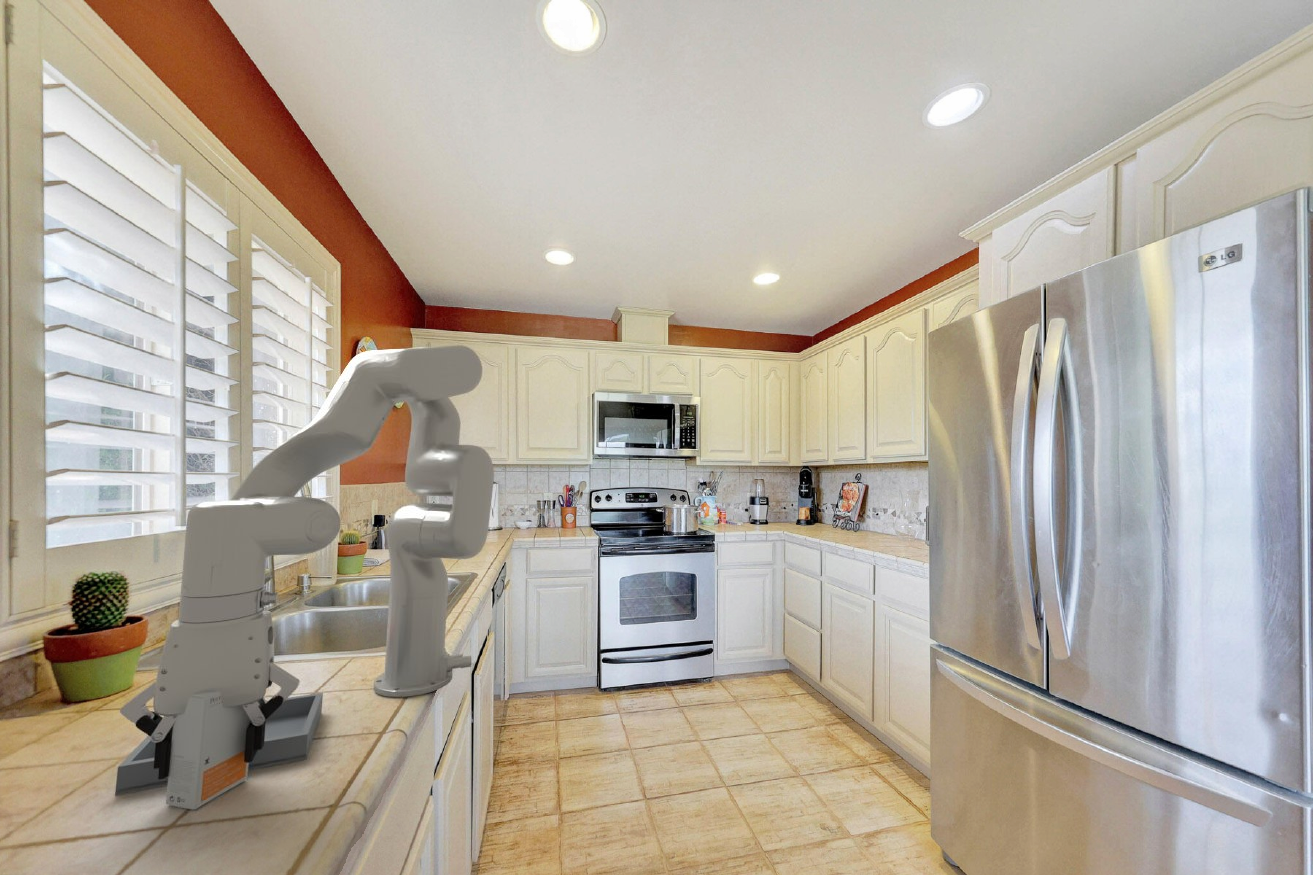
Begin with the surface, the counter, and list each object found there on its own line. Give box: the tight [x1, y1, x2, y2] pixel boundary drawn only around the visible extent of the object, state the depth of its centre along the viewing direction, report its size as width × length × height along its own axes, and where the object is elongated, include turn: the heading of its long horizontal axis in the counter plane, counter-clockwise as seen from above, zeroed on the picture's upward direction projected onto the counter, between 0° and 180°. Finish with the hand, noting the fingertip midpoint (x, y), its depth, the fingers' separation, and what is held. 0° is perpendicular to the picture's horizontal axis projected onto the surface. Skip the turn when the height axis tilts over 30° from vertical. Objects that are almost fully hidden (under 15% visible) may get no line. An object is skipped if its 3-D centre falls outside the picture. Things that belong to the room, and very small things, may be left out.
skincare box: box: [165, 692, 250, 810], centre depth 59 cm, size 6×4×12 cm
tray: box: [114, 692, 324, 797], centre depth 68 cm, size 18×14×3 cm
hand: (210, 763), depth 58 cm, fingers closed on skincare box, 6 cm apart
